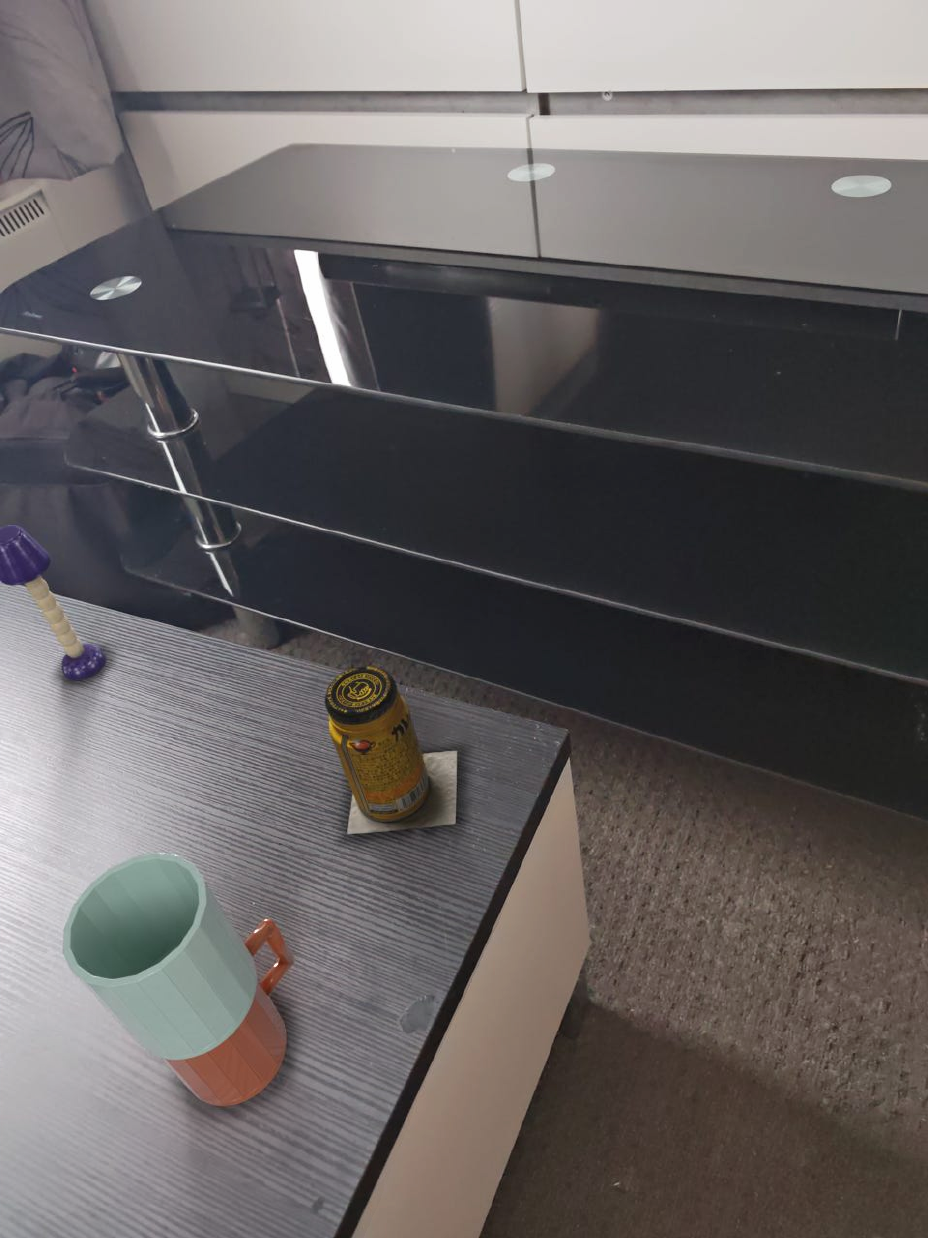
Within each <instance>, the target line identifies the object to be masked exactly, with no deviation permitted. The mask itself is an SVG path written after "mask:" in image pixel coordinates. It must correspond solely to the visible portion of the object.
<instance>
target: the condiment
mask: <svg viewBox="0 0 928 1238" xmlns="http://www.w3.org/2000/svg"><path fill="white" fill-rule="evenodd" d="M324 705H325V709H326V711H327V714H328V731H329V735H330V738H331V741H332V743H333V745H334V748H335V751H336V754H337V756H338V757H339V760H340V763H341V767H342V770H343V771H344V775H345V777H346V779H347V782H348V786H349V788H350V790H351V793H352V794H351V802H350V809H349V816H348V824H347V833H346V835H353V834H354V835H355V834H371V833H383V832H390V831H391V832H393V831H400V830H401V831H403V830H407V829H408V830H409V829H422V828H432V827H439V826H449V825H456V822H457V821H456V820H457V819H456V817H457V793H458V792H457V791H458V790H457V785H458V784H457V783H458V750H445V751H441V752H435V751H434V752H428V753H427V752H426V753H423V751H422V749H421V746H420V742H419V740H418V736H417V732H416V729H415V726H414V721H413V718H412V716H411V712H410V709H409V706H408V703H407V702H406V700H405V698H404V697H403V696H402V695H401V693H400V691H399V690H398V684H397V682H396V679H394V677H393V675H391V673H389V671H388V670H386V669H384V668H381V667H377V666H375V665H361V666H356V667H352V668H349V669H348V670H346V671H342V672H341V673H340V674H338V675H337V676H336V677H335V678H334V679H333V680H332V681H330V683H329V685H328V686H327V689H326V692H325V695H324Z"/></svg>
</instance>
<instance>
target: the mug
mask: <svg viewBox="0 0 928 1238" xmlns="http://www.w3.org/2000/svg"><path fill="white" fill-rule="evenodd" d="M243 942H244V944H245V946H246V947H247V949H248V950H249V952H250V954H251V955H252V957H253V958H254V957H255V955H256V954H257V952H259V950H260V949H261V948H262V947H263V945H264V944H265V943H267V945H268V946H269V949H270V950H271V952H272V953H273V956H275V958H276V961H275V962H274V964H272V966H271V967H270V968H269V970H268V971H267V972H266V974H265V975H264V976H263V978H261V979H258V978H257V986H256V992H255V996H254V999H253V1002H252V1005H251V1007H250V1010H249V1011H248V1013H247V1015H246V1017H245V1018H244V1020H243V1021H242V1023H241V1024H240V1026H239V1027H238V1028H237V1029H236V1030H235V1031H234V1033H233V1034H231V1035H230V1036H229V1037H228V1038H227V1039H226V1040H225V1041H224V1042H222V1043H221V1044H220V1045H218V1046H217V1047H215V1048H214V1049H212V1050H210V1051H208V1052H206V1053H204V1054H202V1055H199V1056H196V1057H193V1058H189V1059H183V1060H167V1059H163V1058H160V1059H161V1060H162V1062H163V1063H164V1064H165V1065H166V1066H167V1067H168V1069H170V1071H171V1072H172V1073H173V1074H174V1075H175V1076H176V1077H177V1078H178V1080H180V1082H182V1083H183V1085H184V1086H185V1087H186V1088H187V1089H188V1090H189V1091H190V1092H191V1093H193V1094H194V1095H195V1097H197V1099H199V1100H200V1101H202V1102H203V1103H206V1104H208V1105H211V1106H216V1107H229V1106H235V1105H238V1104H241V1103H244V1102H246V1101H248V1100H250V1099H253V1097H255V1096H256V1095H258V1094H259V1093H261V1092H262V1091H263V1090H264V1089H265V1088H266V1087H268V1085H269V1084H270V1083H271V1082H272V1080H273V1079H274V1078H275V1077H276V1075H277V1073H278V1072H279V1070H280V1068H281V1066H282V1064H283V1061H284V1058H285V1056H286V1051H287V1045H288V1033H287V1028H286V1025H285V1021H284V1019H283V1017H282V1015H281V1014H280V1012H279V1010H278V1008H277V1006H276V1005H275V1003H274V1002H273V1000H272V999H271V997H270V995H271V993H272V992H273V991H274V989H275V988H276V987H277V986H278V984H279V983H280V982H281V980H282V979H283V978H284V976H286V974H287V973H288V972H289V970H290V969H291V967H292V966H293V965H294V963H295V956H294V954H293V952H292V951H291V948H290V947H289V945H288V943H287V942H286V940H285V938H284V936H283V935H282V933H281V931H280V930H279V928H278V926H277V924H276V922H275V921H274V919H271V918H268V917H267V918H264V919H262V920H261V921H260V923H259V924H258V925H257V926H256V927H255V928H254V930H253V931H252V932H251V933H250V935H249V936H248V937H247V938H246V940H245V941H243Z"/></svg>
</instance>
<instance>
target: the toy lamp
mask: <svg viewBox="0 0 928 1238" xmlns="http://www.w3.org/2000/svg"><path fill="white" fill-rule="evenodd" d="M50 565H51V556H50V554H49V552H48V551H47V550H46V549H45V548H44V547H43V546H42V545H41V544H40V543H39V542H37V540H36V539H35V538H33V537H32V536H31V535H30V534H29V532H27V531H26V530H25V529H24V528H23V527H21V526H20V525H19V526H18V525H14V524H9V525H4V526H1V527H0V582H1V583H2V584H4V585H6V586H12V587H14V586H21V585H25V586H26V589H27V592H28V594H29V595H30V596H31V597H32V598H33V599H34V602H35V605H36V607H38V609H39V610H40V611H41V613H42V616H43V618H44V620H46V621H47V623H48V625H49V629H50V630H51V632H53V634H55V637H56V640H57V641H58V643H59V644H60V645H62V649H63V651H64V653H65V654H64V655H63V657H62V660H61V663H60V665H61V666H60V667H61V672H62V674H63V676H64V677H65V679H67V680H70V681H82V680H85V679H89V678H90V677H93V676H94V675H96V674H97V673H98V672H99V671H101V669H102V668H103V667H104V666H105V664H106V661H107V657H106V653H105V652H104V651H103V650H102V649H101V648H100V647H98V646H97V645H95V644H91V643H82V641H81V639H79V638H78V635H77V632H76V630H75V629H74V628H73V627H72V626H71V621H70V619H69V618H68V617H67V616H66V615H65V614H64V609H63V608H62V606H61V604H59V602H57V598H56V596H55V594H54V593H53V592H52V591H51V590H50V587H49V584H48V582H47V581H46V580H45V579H44V578H43V577H42V576H43V574H45V573H46V572H47V570H48V569H49V568H50Z"/></svg>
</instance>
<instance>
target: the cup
mask: <svg viewBox="0 0 928 1238" xmlns="http://www.w3.org/2000/svg"><path fill="white" fill-rule="evenodd" d="M62 932H63V934H62V935H63V936H62V954H63V957H64V958H65V961H66V963H67V965H68V968H69V970H70V971H71V973H72V974H73V975H74V976H75V977H76V978H77V979H78V980H79V981H80V982H81V984H82V985H83V986H84V987H85V988H86V989H87V990H88V991H89V992H90V994H91V995H92V996H93V997H94V998H95V999H96V1000H97V1001H98V1002H99V1003H100V1005H102V1007H103V1008H105V1010H106V1011H107V1012H108V1013H109V1014H110V1015H111V1016H112V1017H113V1018H114V1019H115V1021H116V1022H117V1023H118V1024H119V1025H120V1026H121V1027H122V1028H123V1029H124V1031H125V1032H126V1033H127V1034H128V1035H129V1036H130V1037H131V1038H132V1039H133V1040H134V1041H135V1042H136V1043H137V1044H138V1045H140V1046H141V1047H142V1048H143V1049H144V1050H145V1052H147V1053H149V1054H150V1055H152V1056H154V1057H157V1058H158V1059H161V1058H163V1059H167V1060H183V1059H189V1058H193V1057H196V1056H199V1055H202V1054H204V1053H206V1052H208V1051H210V1050H212V1049H214V1048H215V1047H217V1046H218V1045H220V1044H221V1043H222V1042H224V1041H225V1040H226V1039H227V1038H228V1037H229V1036H230V1035H231V1034H233V1033H234V1031H235V1030H236V1029H237V1028H238V1027H239V1026H240V1024H241V1023H242V1021H243V1020H244V1018H245V1017H246V1015H247V1013H248V1011H249V1010H250V1007H251V1005H252V1002H253V999H254V996H255V992H256V986H257V979H258V971H257V967H256V963H255V962H256V961H255V960H254V956H253V957H252V955H251V954H250V952H249V950H248V949H247V947H246V946H245V944H244V942H245V941H243V939H242V937H241V936H240V934H239V933H238V931H237V929H236V928H235V926H234V924H233V923H232V922H231V920H230V918H229V917H228V915H227V914H226V912H225V911H224V909H223V907H222V906H221V904H220V903H219V901H218V899H217V898H216V896H215V895H214V893H213V891H212V890H211V888H210V886H209V885H208V884H207V882H206V880H205V878H204V877H203V875H202V874H201V872H200V871H199V869H198V867H197V866H196V865H195V864H194V863H192V862H191V861H189V860H188V859H186V858H184V857H183V856H181V855H178V854H174V853H173V854H172V853H165V852H152V853H146V854H141V855H136V856H133V857H130V858H128V859H126V860H124V861H122V862H120V863H117V864H116V865H113V866H111V867H110V868H108V869H107V870H106V871H105V872H103V873H102V874H101V875H100V876H99V877H97V878H96V879H95V880H94V881H92V882H91V883H90V884H89V885H88V886H87V887H86V889H85V890H84V891H83V893H82V894H81V895H80V897H78V899H77V900H76V902H75V903H74V904H73V905H72V907H71V909H70V913H69V915H68V917H67V920H66V922H65V924H64V927H63V931H62Z"/></svg>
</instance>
